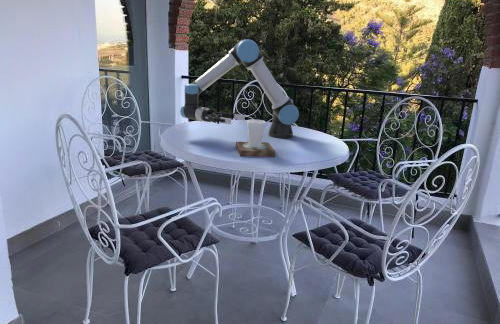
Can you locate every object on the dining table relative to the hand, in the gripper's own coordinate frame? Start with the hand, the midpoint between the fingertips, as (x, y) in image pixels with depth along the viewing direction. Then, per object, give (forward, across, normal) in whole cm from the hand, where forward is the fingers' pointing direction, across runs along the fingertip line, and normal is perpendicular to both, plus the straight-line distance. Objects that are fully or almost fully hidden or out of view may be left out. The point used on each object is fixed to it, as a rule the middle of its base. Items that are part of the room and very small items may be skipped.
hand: (237, 119), depth 218 cm
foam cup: (+12, +1, -12) cm, 17 cm away
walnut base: (+12, +1, -15) cm, 19 cm away
